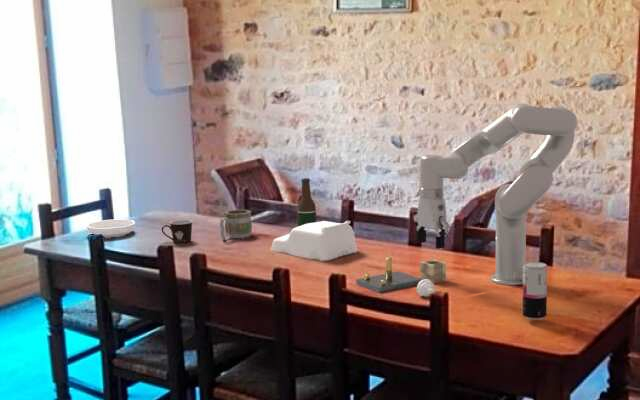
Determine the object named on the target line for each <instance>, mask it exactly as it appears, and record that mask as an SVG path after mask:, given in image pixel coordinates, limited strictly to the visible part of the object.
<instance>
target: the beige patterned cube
mask: <svg viewBox="0 0 640 400" xmlns="http://www.w3.org/2000/svg"><path fill="white" fill-rule="evenodd" d="M419 278H420V279H422V280H424V279H429V280H430V281H431V282H432V283H433V284H437V283H443V282H446V281H447V262H445V261H440V260H438V259H430V260H423V261H420V262H419Z"/></svg>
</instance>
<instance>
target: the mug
mask: <svg viewBox="0 0 640 400" xmlns="http://www.w3.org/2000/svg"><path fill="white" fill-rule="evenodd" d="M223 215H224V217H222V218H221V219H220V222H219V226H220V235H221V237H220V238H221V239H222V240H223V241H228V239H229V240H230V239H234V238H241V239H245V237H247V238H250V237H251V236H252V233H253V232H252V231H253V230H252V224H253V223H252V211H251V210H248V209H231V210H227V211H225V212H224V213H223ZM224 221H225V222H224ZM224 224H225V225H224ZM250 235H251V236H250ZM226 236H227V237H226ZM249 236H250V237H249Z"/></svg>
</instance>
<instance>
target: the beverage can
mask: <svg viewBox="0 0 640 400" xmlns="http://www.w3.org/2000/svg"><path fill="white" fill-rule="evenodd" d="M547 298H548V267H547V264H546V263H544V262H540V261H528V262H526V263H524V266H523V284H522V316H523V317H524V318H526V319H528V320H542V319H544V318H546V317H547V312H548V311H547V310H548V309H547V307H548V305H547V303H548V301H547V300H548V299H547Z"/></svg>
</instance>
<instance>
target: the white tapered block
mask: <svg viewBox="0 0 640 400" xmlns="http://www.w3.org/2000/svg"><path fill="white" fill-rule="evenodd" d="M350 224H351V220H346V221H344V222H343V223H340V222H339V223H338V222H334V221H327V220H322V221H316V222H315V223H308V224H304V225H302V226H299V227H298V226H296V227H294V228H292V229H291V230H290V233H287V234H284V235H283V236H279V237H276V238H275V239H273V240H272V245H271V248H270V251H272V252H276V253H285V254H287V255H288V254H289V255H290V256H295V257H299V258H302V259H303V258H304V259H310V260H318V261H319V262H328V261H333V260H335V259H338V258H339V257H343V256H348V255H351V254H357V253H358V248H357V243H356V237H355V231H354V229H353V227H352V226H351V225H350Z"/></svg>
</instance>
